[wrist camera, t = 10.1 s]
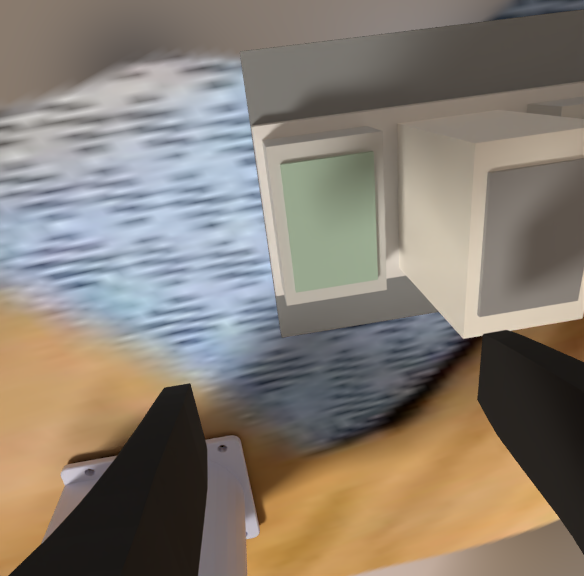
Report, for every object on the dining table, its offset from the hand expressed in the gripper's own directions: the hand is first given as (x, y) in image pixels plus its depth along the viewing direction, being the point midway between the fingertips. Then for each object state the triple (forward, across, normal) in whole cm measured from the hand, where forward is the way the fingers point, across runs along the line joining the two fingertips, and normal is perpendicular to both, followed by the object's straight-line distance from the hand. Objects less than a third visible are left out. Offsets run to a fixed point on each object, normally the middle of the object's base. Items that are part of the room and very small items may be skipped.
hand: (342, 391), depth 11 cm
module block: (+9, -6, -2) cm, 11 cm away
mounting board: (+10, -6, -2) cm, 12 cm away
